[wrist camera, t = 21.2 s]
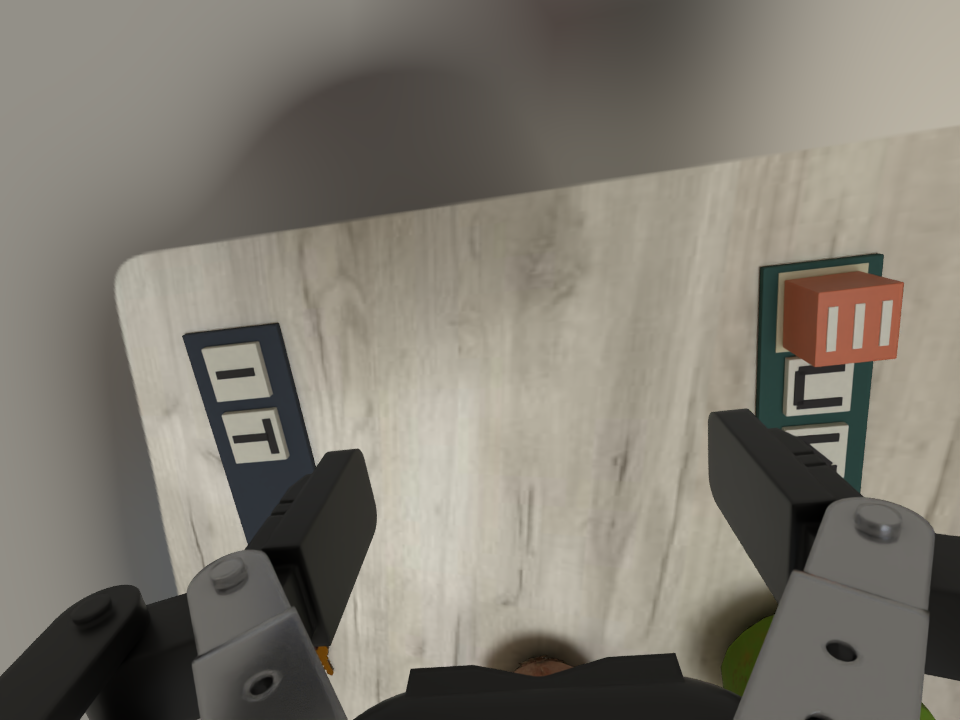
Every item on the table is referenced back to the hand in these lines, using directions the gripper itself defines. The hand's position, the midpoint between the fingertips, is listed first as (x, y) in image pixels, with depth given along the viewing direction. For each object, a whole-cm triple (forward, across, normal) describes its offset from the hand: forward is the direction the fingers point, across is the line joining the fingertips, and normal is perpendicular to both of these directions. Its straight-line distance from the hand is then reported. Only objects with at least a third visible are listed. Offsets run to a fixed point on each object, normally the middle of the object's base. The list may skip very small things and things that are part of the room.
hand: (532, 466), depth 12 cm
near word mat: (+23, -18, +10) cm, 32 cm away
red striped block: (+23, -18, +4) cm, 30 cm away
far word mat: (+24, +21, +10) cm, 33 cm away
